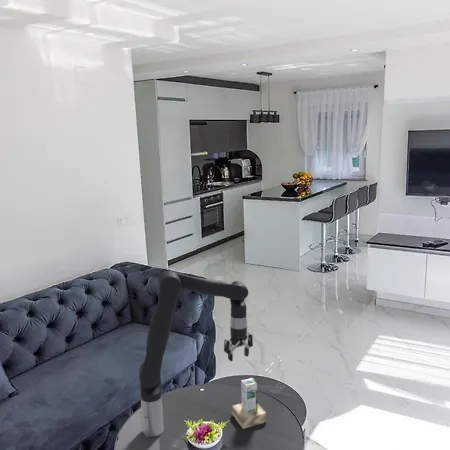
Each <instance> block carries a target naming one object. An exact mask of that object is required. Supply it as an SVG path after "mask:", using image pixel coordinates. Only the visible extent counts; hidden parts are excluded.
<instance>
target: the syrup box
mask: <svg viewBox="0 0 450 450" xmlns="http://www.w3.org/2000/svg"><path fill="white" fill-rule="evenodd" d="M240 391H241V403H242V408H243V410H244V411H245V412H246V414H249V413H252V412H256V411H258V404H259V402H258V383H257V381H256V380H255V379H254V378H253V377H250V378H246V379H241V380H240Z"/></svg>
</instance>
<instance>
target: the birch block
mask: <svg viewBox="0 0 450 450" xmlns="http://www.w3.org/2000/svg"><path fill="white" fill-rule="evenodd" d="M231 410H232V411H231V415H232V416H233V418H234V417H235V418H234V419H235V421H236V422H237V423H238V425H239V426H240V427H241V428H242V430H244V429H247V428H250V427H253V426H257V425H261V424H264V422H265V423H267V412H266V411H265V409H264V408H263V407H262V406H261V405H260V404H259V403H258V411H256V412H252V413H249V414H246V412H245V411H244V410H243V408H242V402H241V403H237V404H233V405H231Z"/></svg>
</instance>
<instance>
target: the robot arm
mask: <svg viewBox="0 0 450 450" xmlns="http://www.w3.org/2000/svg"><path fill="white" fill-rule="evenodd" d="M157 277H158V279H157V284H158V288H159V294H158V303H157V306H156V308H155V311H154V313H153V315H152V316H151V319H150V321H149V326H148V331H147V338H146V349H145V350H146V351H145V357H144V361H143V362H142V363H141V365H140V366H139V370H138V371H139V372H138V379H139V388H140V389H139V390H140V393H139V394H140V406H141V411H140V412H139V415H140V425H141V426H140V428H141V431H140V432H142V434H143V435H144V436H145V438H156V437H158V436H161V435H162V434H163V432H164V413H163V398H162V397H163V396H162V395H163V393H162V377H161V376H162V375H161V373H162V372H161V370H162V362H163V358H164V354H165V351H166V349H167V345H168V341H169V338H170V335H171V334H170V333H171V329H172V325H173V319H174V312H175V307H176V303H177V301H178V298H179V294H180V293H181V290H187V291H192V292H195V293H198V294H201V295H205V296H212V297H223V298H225V299H229V303H230V327H229V328H230V329H229V330H230V331H229V332H230V333H229V334H230V339H224V342H223V343H224V344H223V352H225V354H227V360H229V361H230V362H233V361H234V360H233V356H234V354H233V353H234V351H235V350H236V349H237V348H240V347H243V346H244V347H243V348H244V349H243V350H244V351H243V353H244V354H243V355H244V357H249V354H250V348H252V347H253V346H254V345H253V344H254V342H253V341H254V340H253V339H254V337H253V334H252V333H250V332H248V319H247V304H246V302H245V299H247V298H248V296H249V289H248V287H247V286H246V285H245V284H244V283H243V282H242V281H240V280H235V281H232V282H231V283H228V282H226V281H224V280H220V279H211V278H203V277H202V278H201V277H196V276H191V275H185V274H183V273H179V272H175V271H172V270H165V271H163V272H161V273H160V274H159V275H158V276H157ZM246 341H247V342H246Z"/></svg>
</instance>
